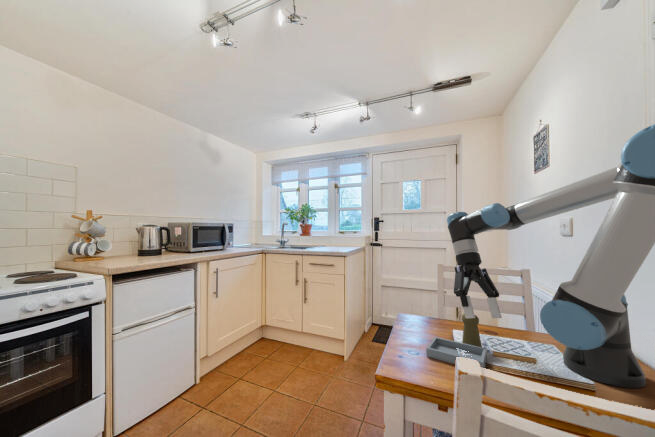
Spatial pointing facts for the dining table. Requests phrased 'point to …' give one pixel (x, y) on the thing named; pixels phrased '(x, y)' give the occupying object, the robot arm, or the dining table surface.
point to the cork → (471, 331)
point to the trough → (454, 351)
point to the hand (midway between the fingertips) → (484, 318)
